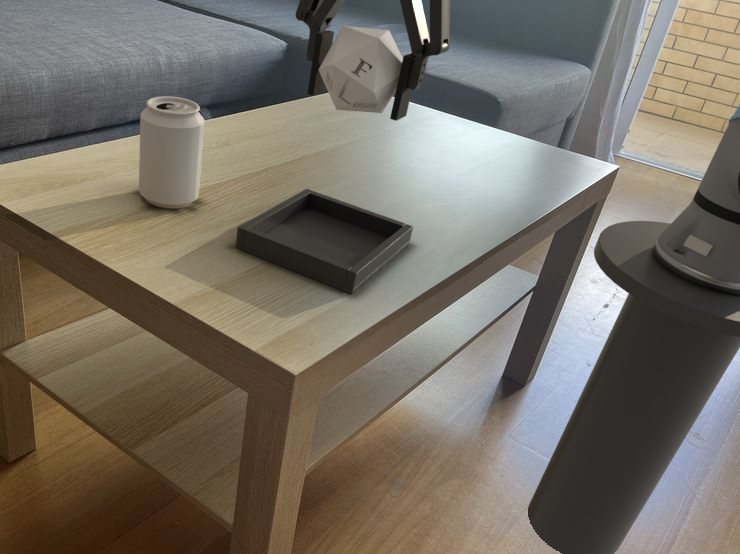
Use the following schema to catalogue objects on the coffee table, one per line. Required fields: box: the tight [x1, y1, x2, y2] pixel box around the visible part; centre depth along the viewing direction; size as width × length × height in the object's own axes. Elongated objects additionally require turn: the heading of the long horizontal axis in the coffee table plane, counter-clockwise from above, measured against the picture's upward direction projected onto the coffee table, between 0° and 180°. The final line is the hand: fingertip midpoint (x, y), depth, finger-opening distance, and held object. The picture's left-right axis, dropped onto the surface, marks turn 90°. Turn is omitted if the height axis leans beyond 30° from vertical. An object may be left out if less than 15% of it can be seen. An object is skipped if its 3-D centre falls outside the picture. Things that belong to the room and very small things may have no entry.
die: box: [318, 25, 403, 114], centre depth 78 cm, size 8×9×10 cm
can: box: [138, 95, 205, 210], centre depth 88 cm, size 8×8×12 cm
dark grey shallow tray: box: [235, 188, 414, 295], centre depth 85 cm, size 15×16×3 cm
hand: (356, 104), depth 80 cm, fingers closed on die, 10 cm apart
